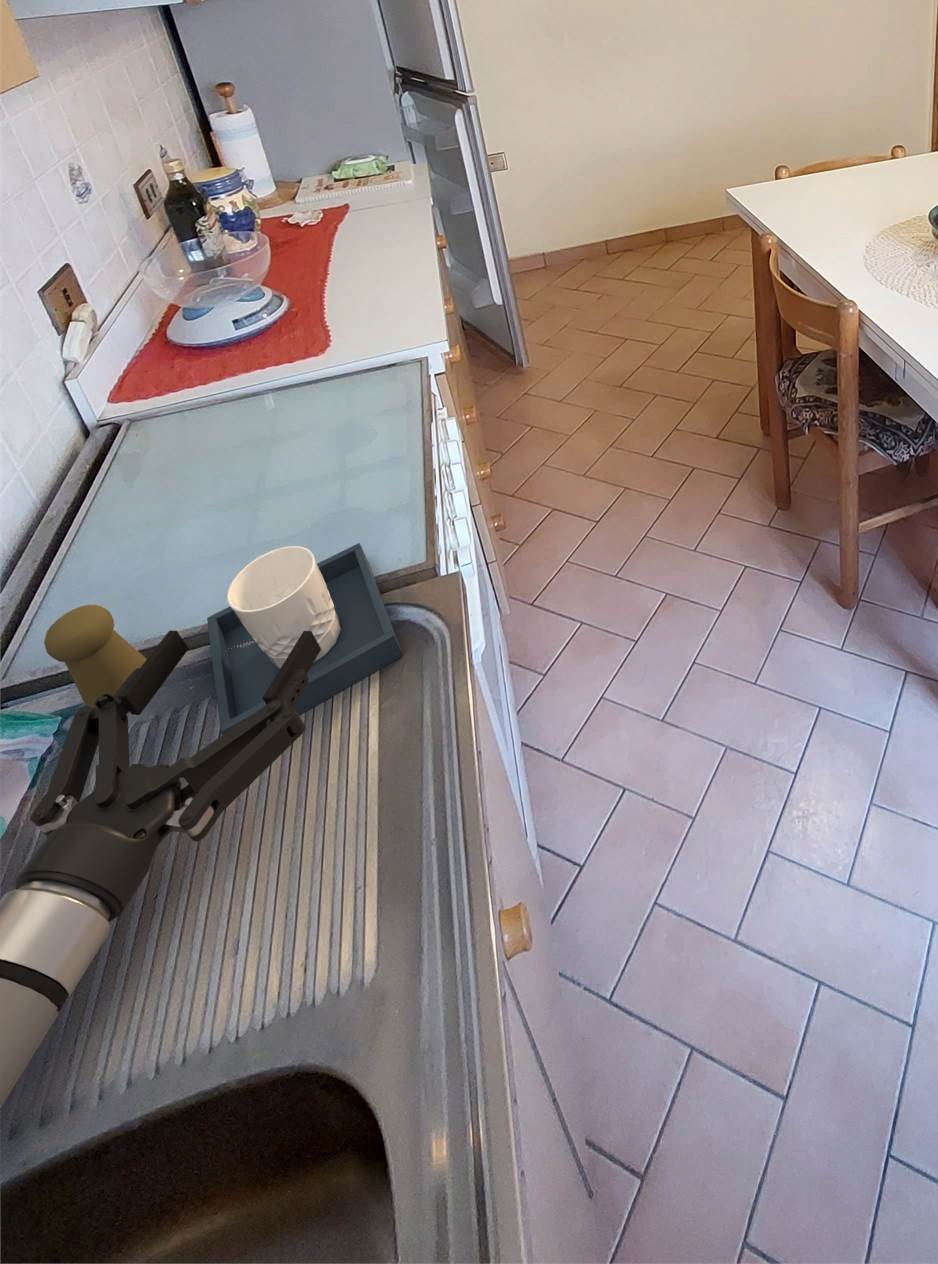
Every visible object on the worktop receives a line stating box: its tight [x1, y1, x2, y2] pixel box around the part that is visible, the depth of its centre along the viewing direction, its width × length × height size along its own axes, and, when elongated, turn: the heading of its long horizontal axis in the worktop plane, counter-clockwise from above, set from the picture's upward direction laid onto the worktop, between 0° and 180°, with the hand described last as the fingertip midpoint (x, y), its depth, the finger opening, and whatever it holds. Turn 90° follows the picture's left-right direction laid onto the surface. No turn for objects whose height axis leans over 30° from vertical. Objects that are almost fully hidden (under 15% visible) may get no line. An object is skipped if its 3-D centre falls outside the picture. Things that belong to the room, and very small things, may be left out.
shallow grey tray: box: [206, 542, 404, 735], centre depth 83 cm, size 16×16×3 cm
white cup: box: [226, 545, 341, 669], centre depth 81 cm, size 8×8×10 cm
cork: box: [43, 604, 148, 708], centre depth 79 cm, size 6×6×11 cm
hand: (245, 639), depth 76 cm, fingers open, 13 cm apart
